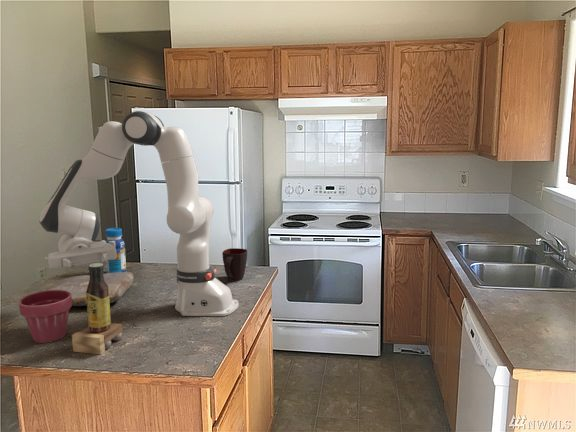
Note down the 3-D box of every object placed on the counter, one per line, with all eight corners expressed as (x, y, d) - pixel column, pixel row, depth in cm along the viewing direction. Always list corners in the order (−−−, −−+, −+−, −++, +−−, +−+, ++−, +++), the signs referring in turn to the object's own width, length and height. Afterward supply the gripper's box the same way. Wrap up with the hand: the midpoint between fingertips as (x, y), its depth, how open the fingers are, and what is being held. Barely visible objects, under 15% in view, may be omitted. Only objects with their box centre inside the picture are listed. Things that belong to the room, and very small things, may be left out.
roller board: (123, 337, 148) (122, 322, 147) (100, 354, 137) (99, 337, 137) (97, 335, 150) (96, 320, 149) (73, 351, 140) (71, 335, 139)
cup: (250, 276, 209) (250, 249, 207) (239, 286, 196) (238, 257, 194) (229, 274, 212) (228, 247, 210) (216, 284, 199) (215, 255, 196)
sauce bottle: (85, 329, 144) (79, 264, 141) (105, 323, 148) (100, 260, 145) (94, 335, 140) (88, 268, 136) (115, 329, 144) (110, 264, 140)
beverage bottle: (103, 273, 214) (99, 229, 211) (120, 269, 220) (117, 226, 217) (113, 277, 209) (109, 232, 205) (130, 273, 215) (127, 228, 212)
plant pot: (27, 351, 140) (22, 309, 138) (19, 335, 151) (15, 295, 149) (79, 338, 148) (76, 298, 146) (69, 324, 159) (65, 286, 157)
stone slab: (136, 283, 201) (135, 269, 200) (126, 308, 173) (124, 291, 172) (56, 288, 196) (55, 274, 195) (33, 315, 168) (31, 298, 167)
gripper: (42, 248, 154) (49, 257, 143) (109, 239, 165) (120, 247, 154) (44, 267, 155) (51, 277, 144) (110, 257, 166) (122, 266, 155)
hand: (87, 261), depth 149 cm, fingers open, 8 cm apart
